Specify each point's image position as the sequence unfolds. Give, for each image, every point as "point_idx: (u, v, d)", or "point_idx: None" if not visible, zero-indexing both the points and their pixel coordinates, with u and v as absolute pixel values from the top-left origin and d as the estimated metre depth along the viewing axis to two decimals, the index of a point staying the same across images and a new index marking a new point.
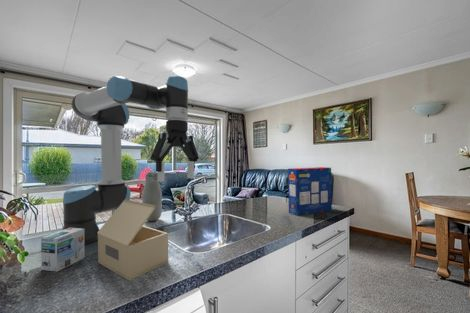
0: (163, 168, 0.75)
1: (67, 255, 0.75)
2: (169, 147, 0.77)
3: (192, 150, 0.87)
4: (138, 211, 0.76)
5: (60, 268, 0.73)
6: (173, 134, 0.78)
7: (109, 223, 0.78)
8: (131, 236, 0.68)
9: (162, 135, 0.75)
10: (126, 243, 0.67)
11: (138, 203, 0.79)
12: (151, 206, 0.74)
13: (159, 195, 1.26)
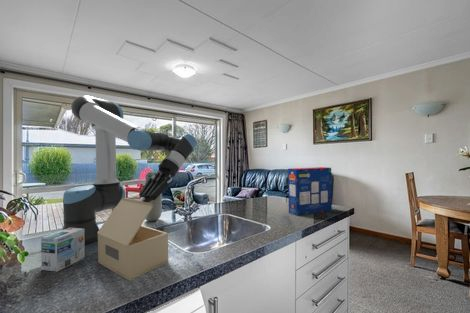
0: None
1: (67, 255, 0.75)
2: None
3: None
4: (136, 210, 0.75)
5: (60, 268, 0.73)
6: None
7: (108, 223, 0.78)
8: (130, 236, 0.68)
9: (170, 182, 0.83)
10: (126, 243, 0.67)
11: (136, 201, 0.78)
12: (149, 204, 0.74)
13: (159, 195, 1.26)
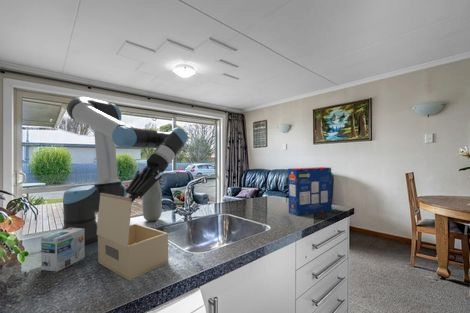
0: None
1: (67, 255, 0.75)
2: None
3: None
4: (118, 207, 0.70)
5: (60, 268, 0.73)
6: None
7: (101, 223, 0.76)
8: (125, 236, 0.66)
9: (158, 178, 0.79)
10: (124, 244, 0.66)
11: (114, 197, 0.72)
12: (127, 200, 0.68)
13: (159, 195, 1.26)
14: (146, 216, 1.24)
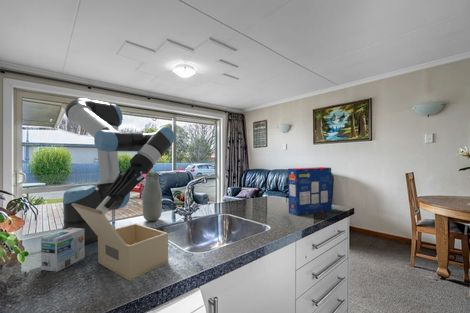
0: None
1: (67, 255, 0.75)
2: None
3: None
4: (95, 217, 0.65)
5: (60, 268, 0.73)
6: None
7: (93, 227, 0.74)
8: (120, 241, 0.65)
9: (140, 179, 0.74)
10: (124, 246, 0.66)
11: (85, 209, 0.66)
12: (97, 213, 0.61)
13: (159, 195, 1.26)
14: (146, 216, 1.24)
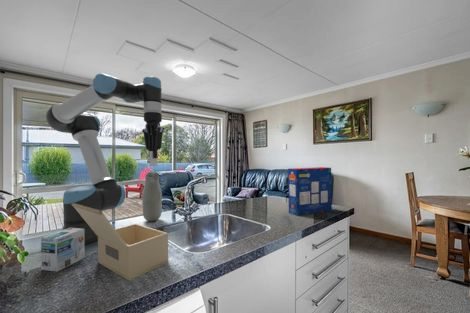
0: None
1: (67, 255, 0.75)
2: None
3: None
4: (95, 217, 0.65)
5: (60, 268, 0.73)
6: None
7: (93, 227, 0.74)
8: (120, 241, 0.65)
9: (162, 130, 0.97)
10: (124, 246, 0.66)
11: (85, 209, 0.66)
12: (97, 213, 0.61)
13: (159, 195, 1.26)
14: (146, 216, 1.24)
